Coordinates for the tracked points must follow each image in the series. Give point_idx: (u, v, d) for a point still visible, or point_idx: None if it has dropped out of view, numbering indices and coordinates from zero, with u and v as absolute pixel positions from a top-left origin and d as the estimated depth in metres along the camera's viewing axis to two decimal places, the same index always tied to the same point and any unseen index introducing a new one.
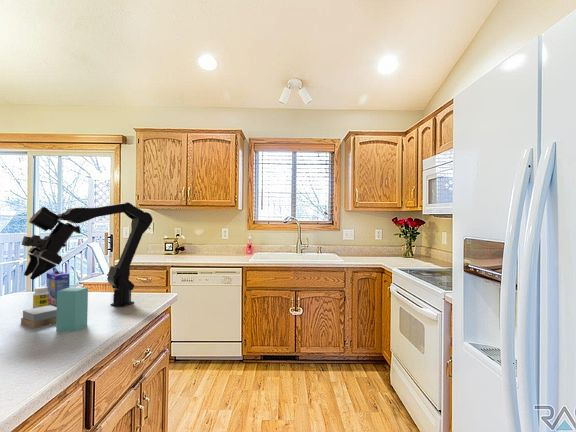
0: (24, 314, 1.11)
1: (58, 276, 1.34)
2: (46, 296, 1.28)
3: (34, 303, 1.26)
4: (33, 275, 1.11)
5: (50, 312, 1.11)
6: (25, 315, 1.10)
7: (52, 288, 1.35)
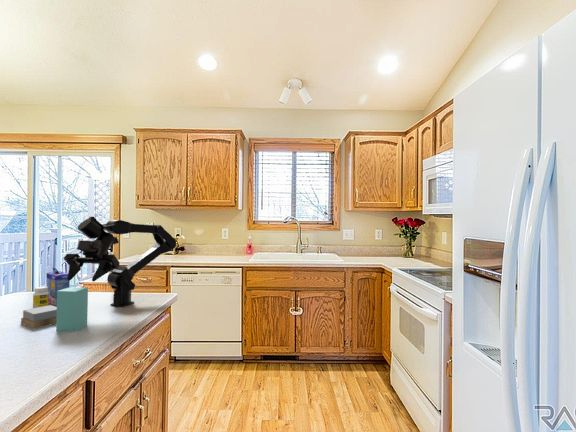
0: (24, 314, 1.11)
1: (58, 276, 1.34)
2: (46, 296, 1.28)
3: (34, 303, 1.26)
4: (95, 277, 1.18)
5: (50, 312, 1.11)
6: (25, 315, 1.11)
7: (52, 288, 1.35)
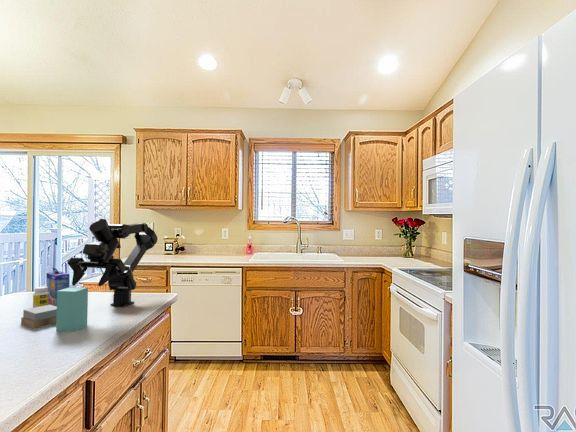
0: (24, 314, 1.11)
1: (58, 276, 1.34)
2: (46, 296, 1.28)
3: (34, 303, 1.26)
4: (101, 282, 1.14)
5: (51, 311, 1.11)
6: (26, 314, 1.10)
7: (52, 288, 1.35)
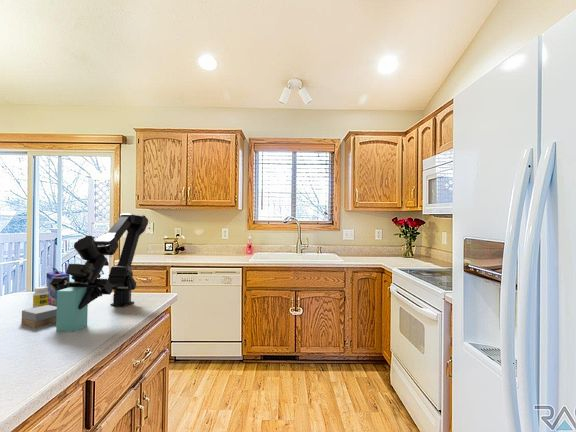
0: (23, 314, 1.10)
1: (58, 276, 1.34)
2: (46, 296, 1.28)
3: (34, 303, 1.26)
4: (82, 304, 1.07)
5: (51, 311, 1.11)
6: (25, 315, 1.10)
7: (52, 288, 1.35)
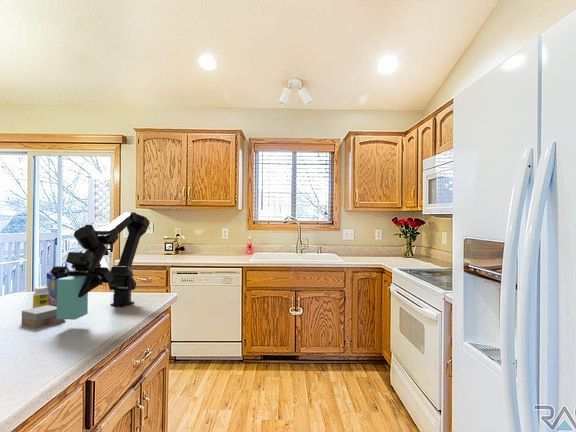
0: (23, 314, 1.10)
1: None
2: (46, 296, 1.28)
3: (34, 303, 1.26)
4: (82, 293, 1.07)
5: (51, 311, 1.12)
6: (25, 315, 1.10)
7: (52, 288, 1.35)
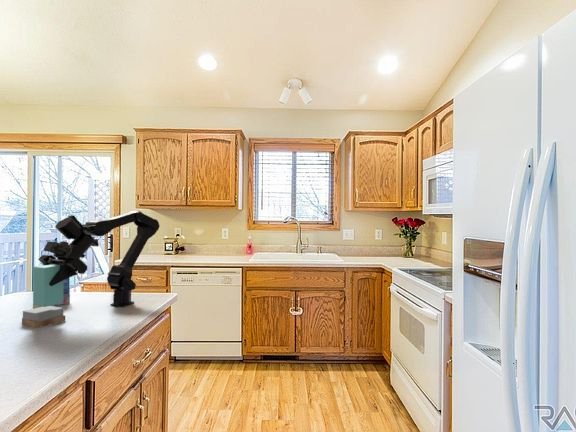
0: (24, 315, 1.10)
1: None
2: None
3: None
4: (53, 281, 1.09)
5: (53, 311, 1.12)
6: (26, 316, 1.10)
7: None
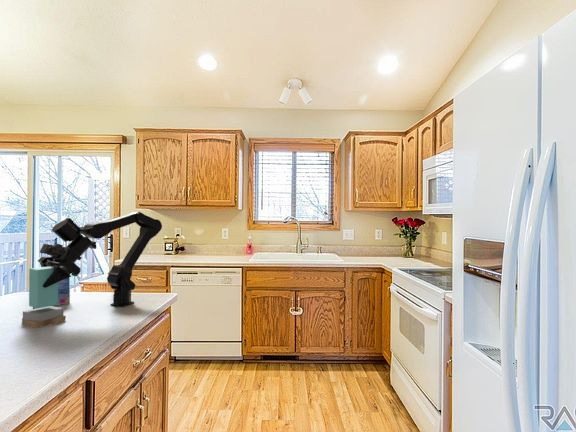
0: (25, 315, 1.10)
1: None
2: None
3: None
4: (46, 283, 1.10)
5: (54, 311, 1.12)
6: (26, 316, 1.10)
7: None
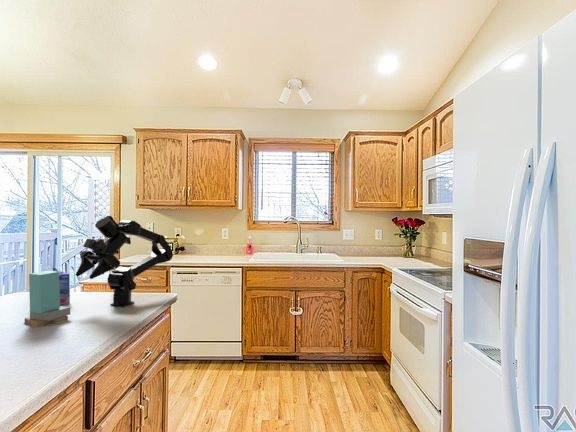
0: (32, 315, 1.11)
1: None
2: None
3: None
4: (92, 275, 1.21)
5: (61, 311, 1.13)
6: (33, 315, 1.11)
7: None
